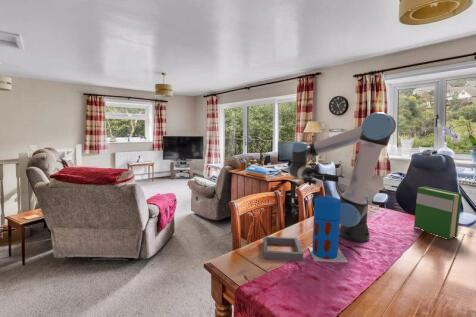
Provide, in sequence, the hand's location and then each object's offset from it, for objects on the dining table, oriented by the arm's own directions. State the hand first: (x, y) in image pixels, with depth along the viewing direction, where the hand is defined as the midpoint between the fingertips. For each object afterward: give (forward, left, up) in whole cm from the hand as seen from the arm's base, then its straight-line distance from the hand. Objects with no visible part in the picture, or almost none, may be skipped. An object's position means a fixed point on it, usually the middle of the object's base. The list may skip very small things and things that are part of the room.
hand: (335, 183), depth 109 cm
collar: (+21, -5, -33) cm, 40 cm away
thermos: (+2, -3, -33) cm, 33 cm away
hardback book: (-66, -35, -34) cm, 82 cm away
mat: (+1, -3, -33) cm, 33 cm away
